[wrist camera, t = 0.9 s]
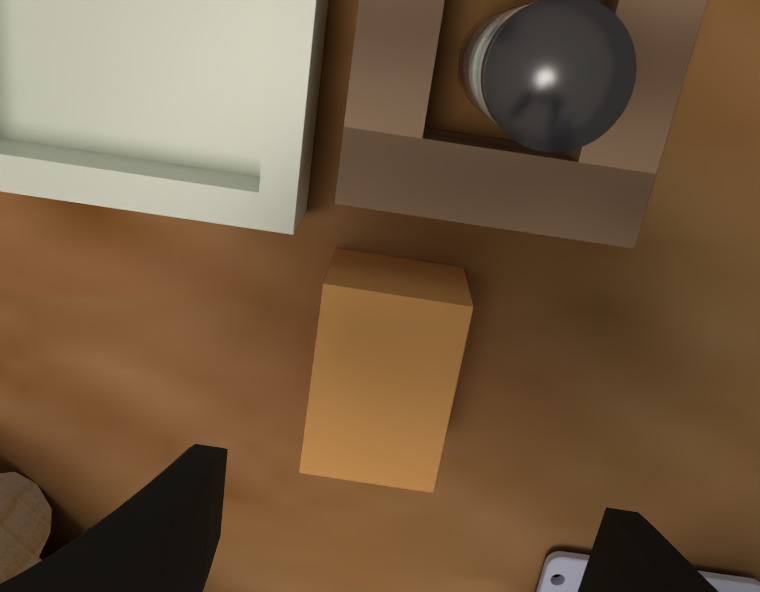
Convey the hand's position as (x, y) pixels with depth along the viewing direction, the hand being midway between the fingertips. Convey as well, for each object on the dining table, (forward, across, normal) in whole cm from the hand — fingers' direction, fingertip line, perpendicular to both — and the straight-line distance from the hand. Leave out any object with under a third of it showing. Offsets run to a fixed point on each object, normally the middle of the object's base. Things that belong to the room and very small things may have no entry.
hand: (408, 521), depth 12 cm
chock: (+10, +1, +1) cm, 10 cm away
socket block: (+9, -1, -8) cm, 13 cm away
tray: (+9, +9, -8) cm, 15 cm away
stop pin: (+9, -1, -8) cm, 13 cm away
